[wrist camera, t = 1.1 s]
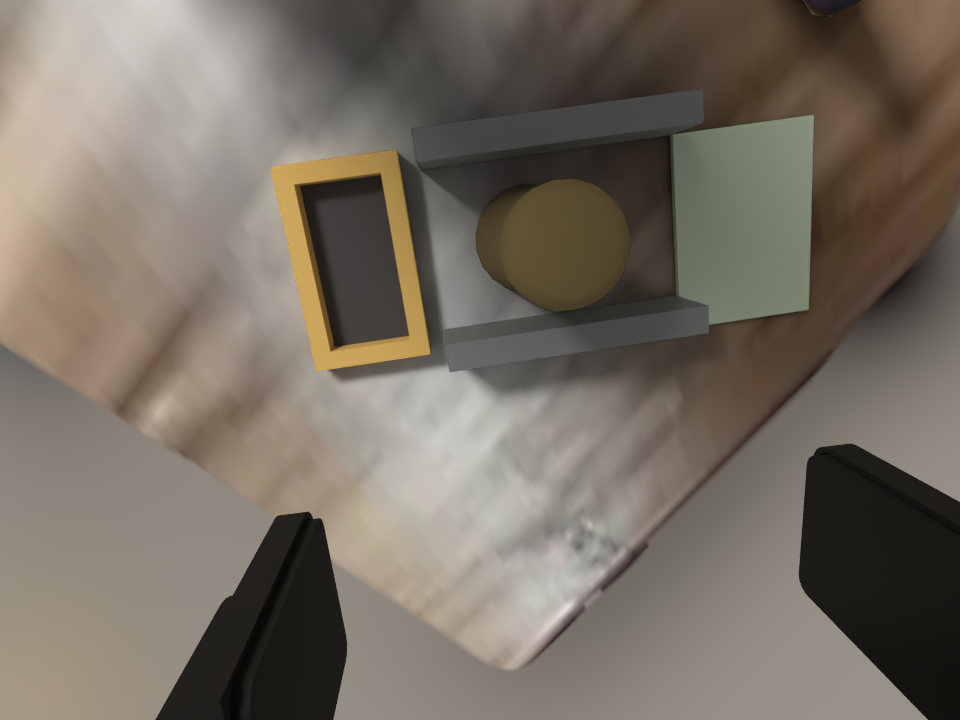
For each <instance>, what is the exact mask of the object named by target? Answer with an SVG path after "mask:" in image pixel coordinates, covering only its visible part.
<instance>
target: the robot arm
mask: <svg viewBox="0 0 960 720" xmlns="http://www.w3.org/2000/svg"><path fill="white" fill-rule="evenodd" d="M801 539H802V540H801V553H800V566H799V579H800V583H801V586H802V588H803V590H804V591H805V593H806V594H807V596H808V597H809V598H810V599H811V600H812V601H813V602H814V603H815V604H816V605H817V606H818V607H819V608H820V609H821V610H822V611H823V612H824V613H825V614H826V615H827V616H828V617H829V618H830V619H831V620H832V621H833V622H834V623H835V624H836V626H837V627H838V628H839V629H840V630H841V631H842V632H843V633H844V634H845V635H846V636H847V637H848V638H849V639H850V640H851V641H852V642H853V643H854V644H855V645H856V646H857V647H858V648H859V649H860V650H861V651H862V652H863V653H864V654H865V655H866V656H867V657H868V658H869V659H870V661H871V662H872V663H873V664H874V665H875V666H876V667H877V668H878V669H879V670H880V671H881V672H882V673H883V674H884V675H885V676H886V677H887V678H888V679H889V680H890V681H891V682H892V683H893V684H894V685H895V686H896V687H897V688H898V689H899V690H900V691H901V692H902V693H903V695H904V696H905V697H907V699H909V701H910V702H911V703H912V704H913V705H914V706H915V707H916V708H917V709H918V710H919V711H920V712H921V713H922V714H923V715H924V716H925V717H926V718H927V719H928V720H960V502H959V501H957V500H955V499H953V498H951V497H950V496H948V495H946V494H944V493H942V492H940V491H939V490H937V489H935V488H933V487H931V486H929V485H928V484H926V483H924V482H922V481H920V480H918V479H917V478H915V477H913V476H911V475H909V474H908V473H906V472H904V471H902V470H900V469H898V468H897V467H895V466H893V465H891V464H889V463H887V462H886V461H884V460H882V459H880V458H878V457H876V456H875V455H872V454H871V453H869V452H867V451H866V450H864V449H862V448H860V447H858V446H856V445H853V444H843V445H835V446H828V447H820V448H818V449H817V450H816V452H815V453H814V456H812V457H810V458H809V460H808V462H807V471H806V486H805V497H804V511H803V525H802V538H801ZM346 656H347V640H346V633H345V628H344V623H343V618H342V613H341V608H340V603H339V598H338V593H337V588H336V583H335V578H334V574H333V569H332V564H331V559H330V554H329V549H328V544H327V539H326V534H325V529H324V525H323V521H322V519H320V518H318V519H313V517H312V515H311V513H309V512H303V513H295V514H287V515H279V516H277V517H276V518H275V519H274V521H273V523H272V525H271V527H270V529H269V531H268V532H267V534H266V536H265V538H264V539H263V541H262V543H261V545H260V547H259V549H258V551H257V552H256V554H255V556H254V558H253V560H252V561H251V563H250V565H249V567H248V569H247V571H246V572H245V574H244V576H243V578H242V580H241V582H240V583H239V585H238V587H237V589H236V591H235V593H234V594H233V596H229V597H228V598H226V599H225V600H224V601H223V602H222V604H221V605H220V607H219V609H218V610H217V612H216V614H215V615H214V617H213V619H212V621H211V623H210V624H209V626H208V628H207V630H206V631H205V633H204V635H203V637H202V638H201V640H200V642H199V644H198V645H197V647H196V649H195V651H194V653H193V654H192V656H191V658H190V660H189V661H188V663H187V665H186V667H185V668H184V670H183V672H182V674H181V676H180V677H179V679H178V681H177V683H176V684H175V686H174V688H173V690H172V692H171V693H170V695H169V697H168V699H167V700H166V702H165V704H164V706H163V707H162V709H161V711H160V713H159V714H158V717H157V718H156V720H333V718H334V713H335V709H336V704H337V699H338V695H339V690H340V685H341V680H342V676H343V671H344V666H345V662H346Z"/></svg>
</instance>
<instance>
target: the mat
mask: <svg viewBox="0 0 960 720" xmlns="http://www.w3.org/2000/svg"><path fill="white" fill-rule="evenodd" d="M813 131H814V115H809V116H802V117H795V118H787V119H780V120H773V121H766V122H759V123H751V124H744V125H737V126H730V127H722V128H715V129H708V130H701V131H693V132H686V133H679V134H672V135H670V155H671V181H672V206H673V231H674V257H675V282H676V296H680V297H683V298H686V299H689V300H692V301H695V302H699V303H702V304H705V305H708V310H709V325H710V324H717V323H724V322H730V321H737V320H744V319H750V318H757V317H764V316H770V315H777V314H784V313H790V312H797V311H804V310H809V281H810V243H811V206H812V168H813Z"/></svg>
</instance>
